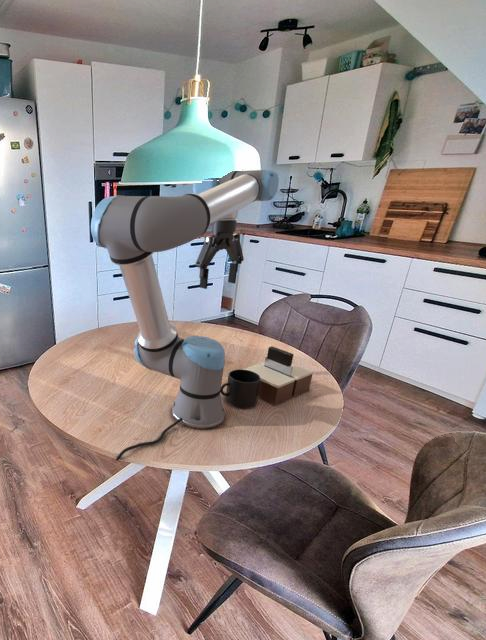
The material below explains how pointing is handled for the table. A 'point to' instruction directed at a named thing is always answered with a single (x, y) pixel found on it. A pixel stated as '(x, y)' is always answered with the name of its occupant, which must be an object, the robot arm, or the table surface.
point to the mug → (242, 388)
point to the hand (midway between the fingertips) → (217, 285)
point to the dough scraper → (279, 361)
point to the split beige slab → (281, 383)
